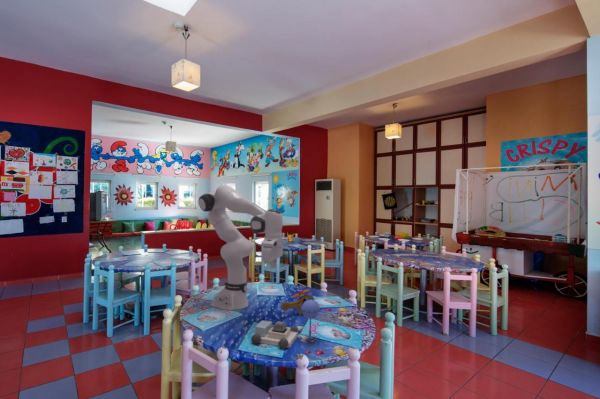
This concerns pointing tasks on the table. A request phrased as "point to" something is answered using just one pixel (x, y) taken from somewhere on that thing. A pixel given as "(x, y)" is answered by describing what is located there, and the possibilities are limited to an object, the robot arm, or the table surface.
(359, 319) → the table surface
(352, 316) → the table surface
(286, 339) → the chassis
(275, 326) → the engine block
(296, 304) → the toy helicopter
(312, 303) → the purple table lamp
